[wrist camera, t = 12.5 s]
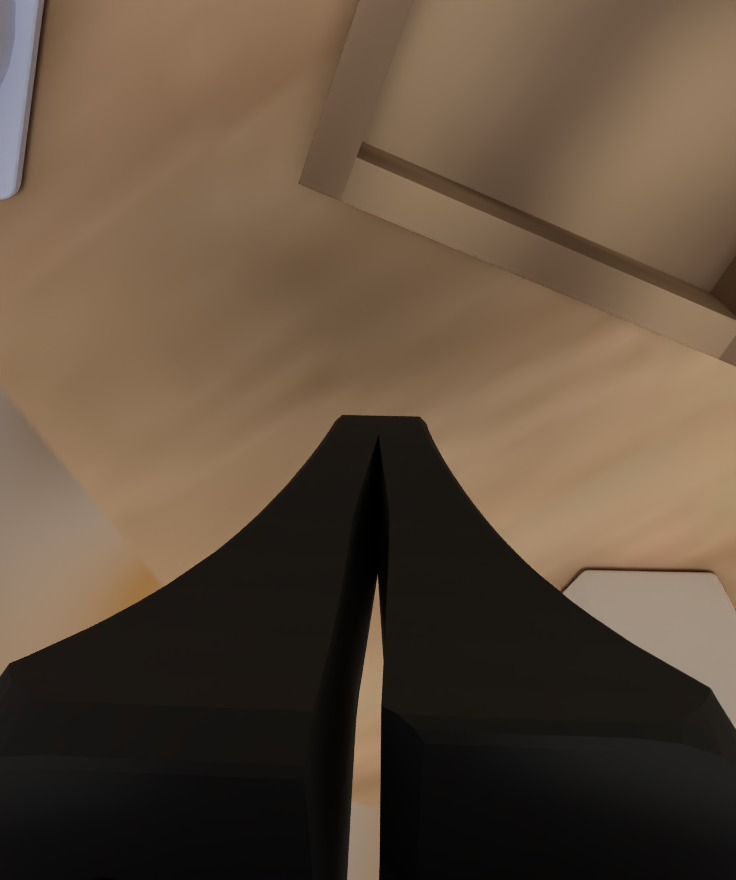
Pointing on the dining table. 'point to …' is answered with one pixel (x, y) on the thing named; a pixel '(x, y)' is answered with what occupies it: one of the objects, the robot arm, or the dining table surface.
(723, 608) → the jar
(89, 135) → the dining table surface
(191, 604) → the robot arm
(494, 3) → the brown wooden tray
